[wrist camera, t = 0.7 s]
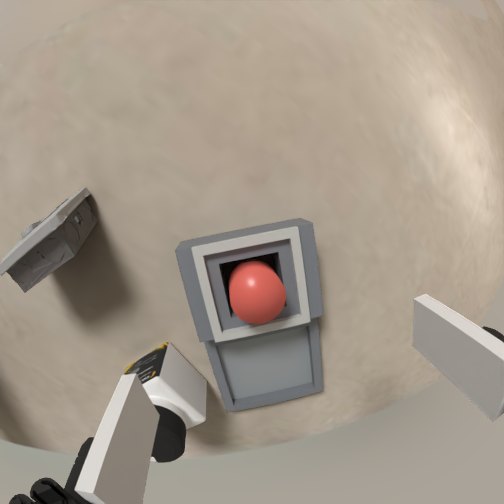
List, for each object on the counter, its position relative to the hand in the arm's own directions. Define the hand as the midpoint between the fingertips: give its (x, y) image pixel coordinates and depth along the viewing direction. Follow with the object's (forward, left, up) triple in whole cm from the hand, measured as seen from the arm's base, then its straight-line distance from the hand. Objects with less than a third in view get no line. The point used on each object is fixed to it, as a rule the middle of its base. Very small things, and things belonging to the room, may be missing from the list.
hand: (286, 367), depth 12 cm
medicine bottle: (-12, -12, -18) cm, 25 cm away
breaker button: (0, -1, -14) cm, 14 cm away
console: (0, -7, -18) cm, 19 cm away
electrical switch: (-18, +7, -18) cm, 27 cm away
